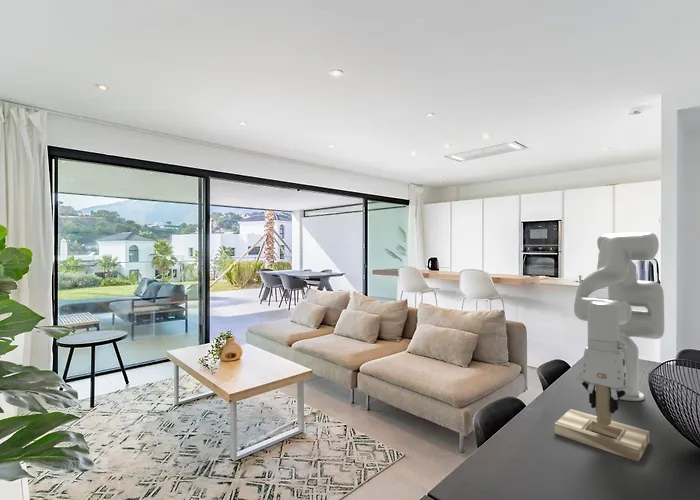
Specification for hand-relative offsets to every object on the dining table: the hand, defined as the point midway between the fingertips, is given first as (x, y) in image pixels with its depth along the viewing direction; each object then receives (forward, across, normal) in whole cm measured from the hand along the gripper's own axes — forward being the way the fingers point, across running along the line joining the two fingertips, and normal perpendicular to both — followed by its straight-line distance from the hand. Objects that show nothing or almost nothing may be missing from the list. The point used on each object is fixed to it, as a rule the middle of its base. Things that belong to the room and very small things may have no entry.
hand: (603, 408), depth 106 cm
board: (+9, +1, -1) cm, 9 cm away
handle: (+4, 0, 0) cm, 4 cm away
